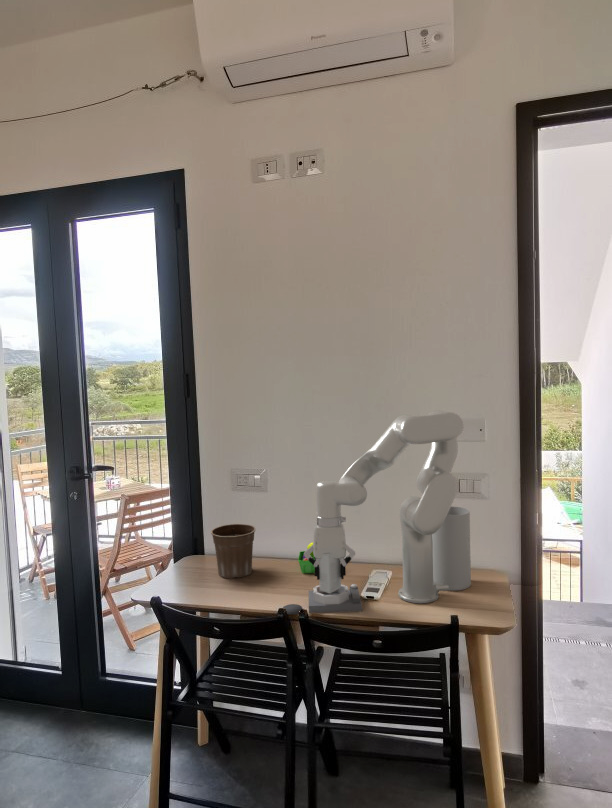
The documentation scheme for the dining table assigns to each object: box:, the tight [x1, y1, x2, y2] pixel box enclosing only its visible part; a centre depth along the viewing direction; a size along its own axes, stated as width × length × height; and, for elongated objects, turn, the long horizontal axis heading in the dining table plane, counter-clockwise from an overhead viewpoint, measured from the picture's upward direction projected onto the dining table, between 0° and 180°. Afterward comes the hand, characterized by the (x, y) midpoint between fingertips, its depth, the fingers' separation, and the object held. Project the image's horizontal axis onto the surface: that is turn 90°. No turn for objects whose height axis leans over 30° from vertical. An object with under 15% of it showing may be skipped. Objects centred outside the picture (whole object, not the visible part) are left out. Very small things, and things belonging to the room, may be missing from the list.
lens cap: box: [282, 603, 303, 615], centre depth 164 cm, size 6×6×1 cm
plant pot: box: [210, 523, 256, 579], centre depth 197 cm, size 16×16×16 cm
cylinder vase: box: [432, 505, 472, 591], centre depth 180 cm, size 12×12×25 cm
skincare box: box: [318, 554, 342, 593], centre depth 167 cm, size 6×4×12 cm
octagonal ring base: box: [308, 583, 363, 613], centre depth 168 cm, size 16×12×4 cm
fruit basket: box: [297, 541, 315, 574], centre depth 200 cm, size 11×9×11 cm
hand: (330, 577), depth 167 cm, fingers closed on skincare box, 6 cm apart
